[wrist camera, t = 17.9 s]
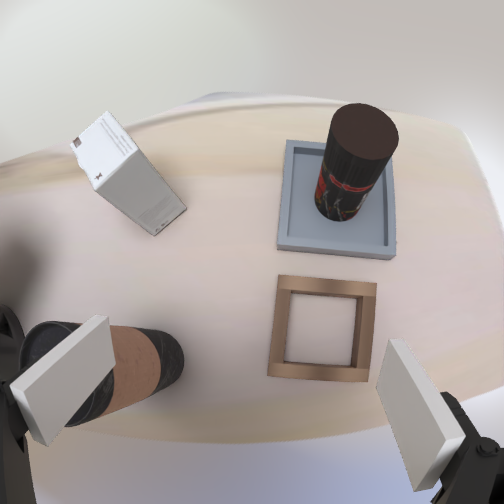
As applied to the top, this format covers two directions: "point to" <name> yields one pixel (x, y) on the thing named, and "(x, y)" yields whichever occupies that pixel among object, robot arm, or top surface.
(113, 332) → the travel mug
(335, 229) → the slate tray
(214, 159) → the top surface
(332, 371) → the frame
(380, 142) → the deodorant
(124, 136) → the skincare box
